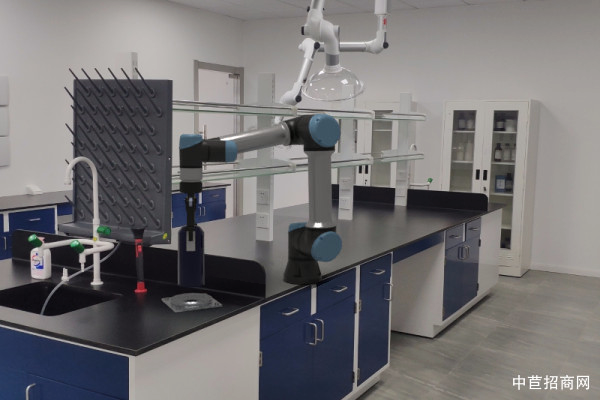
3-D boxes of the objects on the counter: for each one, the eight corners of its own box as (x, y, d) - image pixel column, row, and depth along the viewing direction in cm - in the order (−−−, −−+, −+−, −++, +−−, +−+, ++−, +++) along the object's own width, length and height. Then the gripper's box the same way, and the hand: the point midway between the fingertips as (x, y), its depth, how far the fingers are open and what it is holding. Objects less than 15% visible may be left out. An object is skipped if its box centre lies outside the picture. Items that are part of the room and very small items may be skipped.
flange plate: (206, 295, 223) (206, 290, 223) (222, 306, 209) (222, 301, 209) (161, 300, 216) (161, 295, 215) (175, 312, 202) (175, 307, 201)
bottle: (179, 280, 216) (179, 194, 213) (206, 281, 216) (206, 194, 213) (175, 287, 207) (174, 197, 204) (203, 287, 207) (203, 197, 204)
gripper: (180, 178, 218) (181, 242, 220) (177, 183, 197) (178, 254, 199) (202, 178, 219) (202, 242, 221) (202, 183, 198) (202, 254, 200)
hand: (191, 248), depth 210 cm, fingers closed on bottle, 9 cm apart
